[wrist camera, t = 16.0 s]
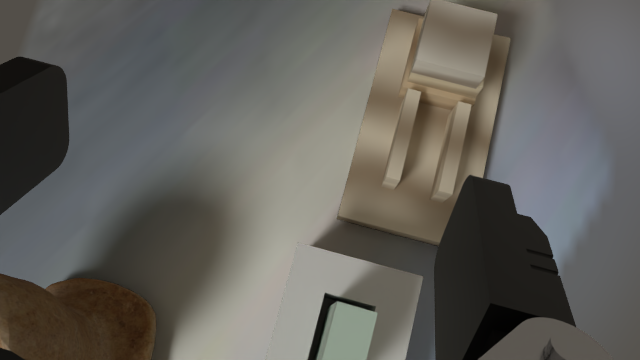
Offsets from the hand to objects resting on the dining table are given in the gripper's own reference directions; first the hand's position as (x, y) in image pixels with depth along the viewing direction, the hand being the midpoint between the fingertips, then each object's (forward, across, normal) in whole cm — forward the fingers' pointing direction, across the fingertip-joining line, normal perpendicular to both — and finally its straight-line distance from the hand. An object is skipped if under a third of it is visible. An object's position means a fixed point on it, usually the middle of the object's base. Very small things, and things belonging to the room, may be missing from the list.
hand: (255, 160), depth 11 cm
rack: (+32, -7, +13) cm, 35 cm away
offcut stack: (+34, -7, +8) cm, 36 cm away
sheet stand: (+19, -4, +26) cm, 32 cm away
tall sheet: (+19, -4, +24) cm, 31 cm away
